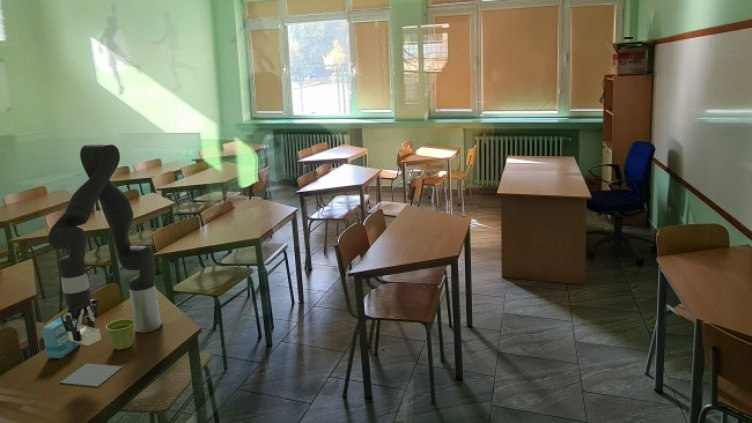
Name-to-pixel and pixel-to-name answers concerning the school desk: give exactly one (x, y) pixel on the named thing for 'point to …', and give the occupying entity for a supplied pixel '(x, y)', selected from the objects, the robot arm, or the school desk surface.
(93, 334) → the white rectangular block
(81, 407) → the school desk surface
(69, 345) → the data package
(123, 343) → the plant pot
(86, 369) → the mat
